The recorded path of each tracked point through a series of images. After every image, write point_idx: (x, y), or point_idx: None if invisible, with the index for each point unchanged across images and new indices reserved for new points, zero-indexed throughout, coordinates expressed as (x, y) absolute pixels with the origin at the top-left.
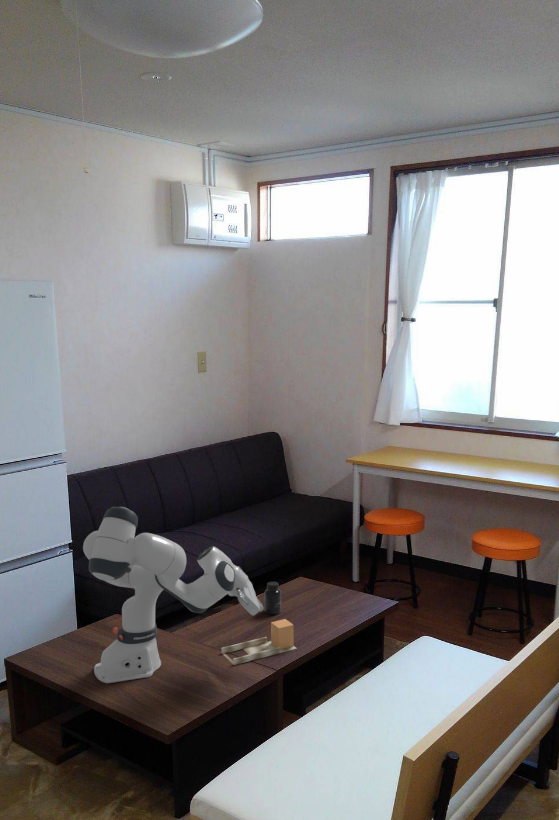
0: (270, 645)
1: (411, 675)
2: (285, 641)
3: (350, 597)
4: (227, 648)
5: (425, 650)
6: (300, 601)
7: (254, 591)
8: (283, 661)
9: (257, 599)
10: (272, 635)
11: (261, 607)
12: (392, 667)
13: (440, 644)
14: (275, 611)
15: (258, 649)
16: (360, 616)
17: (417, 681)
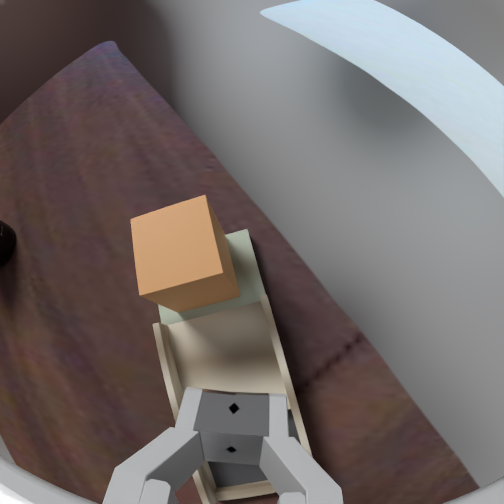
0: (193, 320)
1: (404, 58)
2: (229, 261)
3: (47, 92)
4: (206, 490)
5: (306, 19)
6: (3, 177)
7: (48, 490)
8: (306, 297)
9: (167, 461)
10: (176, 303)
11: (286, 420)
12: (373, 66)
13: (287, 6)
14: (9, 241)
15: (214, 374)
16: (118, 74)
17: (424, 61)
